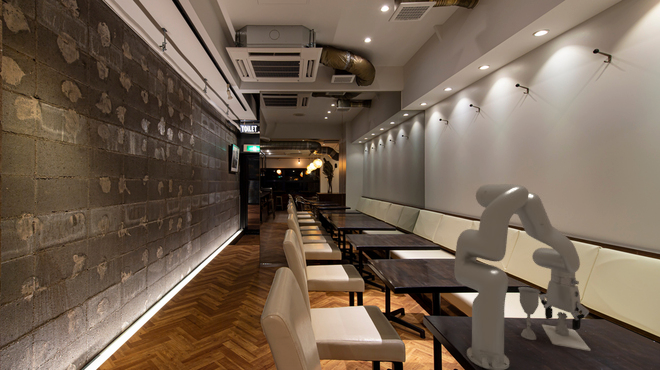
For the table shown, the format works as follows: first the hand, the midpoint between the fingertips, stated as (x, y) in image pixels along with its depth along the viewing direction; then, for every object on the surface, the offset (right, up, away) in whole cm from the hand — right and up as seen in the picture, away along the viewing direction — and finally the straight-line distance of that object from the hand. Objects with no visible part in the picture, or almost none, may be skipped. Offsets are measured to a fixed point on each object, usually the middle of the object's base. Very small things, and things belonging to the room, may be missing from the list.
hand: (561, 323), depth 116 cm
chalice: (-14, -5, -1) cm, 15 cm away
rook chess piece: (0, -4, 0) cm, 4 cm away
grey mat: (0, -5, -2) cm, 5 cm away
